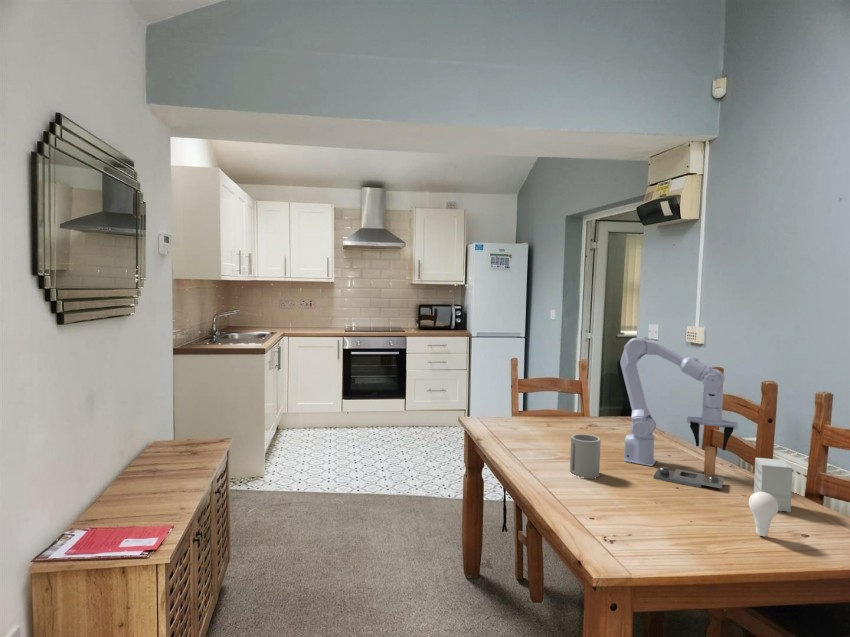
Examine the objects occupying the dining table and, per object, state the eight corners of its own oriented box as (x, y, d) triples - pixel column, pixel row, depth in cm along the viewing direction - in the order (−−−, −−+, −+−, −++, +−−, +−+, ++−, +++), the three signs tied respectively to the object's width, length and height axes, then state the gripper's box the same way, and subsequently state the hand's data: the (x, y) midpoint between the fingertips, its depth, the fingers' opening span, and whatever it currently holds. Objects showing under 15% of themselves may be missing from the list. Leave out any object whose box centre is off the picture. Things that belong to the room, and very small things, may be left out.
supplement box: (782, 503, 149) (784, 459, 149) (791, 513, 142) (793, 467, 142) (752, 499, 152) (754, 456, 151) (759, 509, 145) (762, 464, 144)
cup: (603, 474, 171) (605, 438, 171) (591, 481, 164) (592, 443, 164) (578, 467, 177) (579, 432, 177) (565, 473, 171) (566, 437, 170)
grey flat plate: (653, 478, 168) (654, 469, 168) (658, 471, 174) (658, 463, 174) (721, 491, 157) (721, 482, 157) (723, 483, 164) (723, 475, 164)
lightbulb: (741, 531, 131) (743, 488, 130) (764, 530, 131) (766, 487, 131) (758, 542, 125) (761, 497, 124) (782, 542, 125) (785, 497, 125)
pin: (703, 475, 172) (704, 448, 171) (704, 472, 174) (705, 445, 174) (714, 477, 170) (715, 449, 170) (715, 474, 173) (716, 447, 172)
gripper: (686, 405, 172) (684, 446, 172) (737, 411, 164) (735, 454, 164) (689, 402, 178) (687, 441, 178) (738, 408, 170) (736, 449, 170)
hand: (710, 447), depth 172 cm, fingers open, 7 cm apart
